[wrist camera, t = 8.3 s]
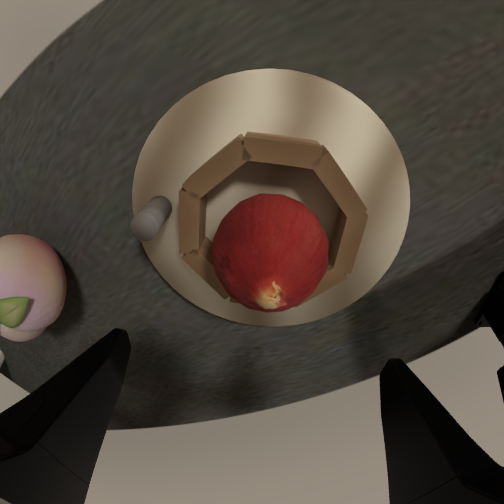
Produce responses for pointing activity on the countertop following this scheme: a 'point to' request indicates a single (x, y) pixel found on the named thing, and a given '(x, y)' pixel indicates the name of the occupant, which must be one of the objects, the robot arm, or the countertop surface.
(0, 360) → the white cup
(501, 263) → the countertop surface
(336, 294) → the flange plate
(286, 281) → the onion
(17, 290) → the decorative fruit
